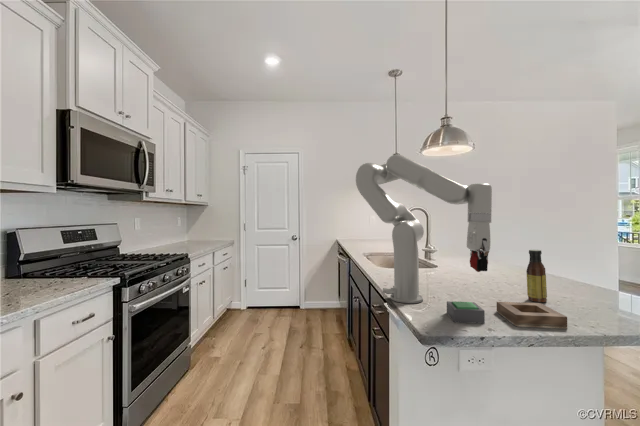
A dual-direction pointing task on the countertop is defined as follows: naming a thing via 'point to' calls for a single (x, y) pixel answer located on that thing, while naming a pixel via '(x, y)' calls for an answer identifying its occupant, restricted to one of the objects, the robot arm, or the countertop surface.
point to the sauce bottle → (536, 278)
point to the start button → (464, 305)
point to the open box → (531, 315)
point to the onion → (474, 261)
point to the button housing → (466, 314)
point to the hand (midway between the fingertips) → (478, 268)
